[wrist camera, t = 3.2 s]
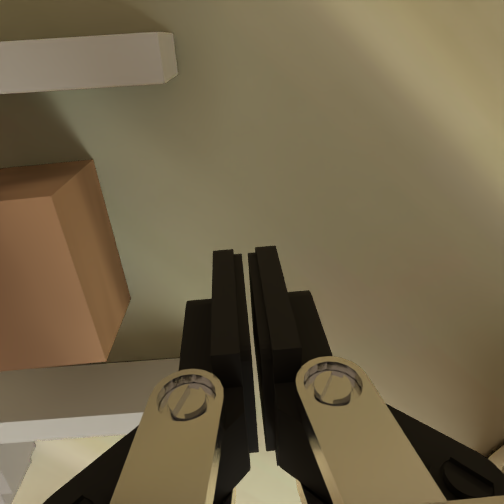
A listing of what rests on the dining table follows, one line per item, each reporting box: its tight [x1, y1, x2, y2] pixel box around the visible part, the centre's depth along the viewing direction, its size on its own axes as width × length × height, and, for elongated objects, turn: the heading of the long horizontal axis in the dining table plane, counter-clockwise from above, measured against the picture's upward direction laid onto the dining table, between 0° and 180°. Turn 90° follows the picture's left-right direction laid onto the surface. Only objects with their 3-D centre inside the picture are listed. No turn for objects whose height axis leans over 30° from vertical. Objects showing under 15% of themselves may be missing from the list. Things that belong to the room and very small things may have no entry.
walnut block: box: [0, 159, 131, 372], centre depth 14 cm, size 6×6×4 cm
